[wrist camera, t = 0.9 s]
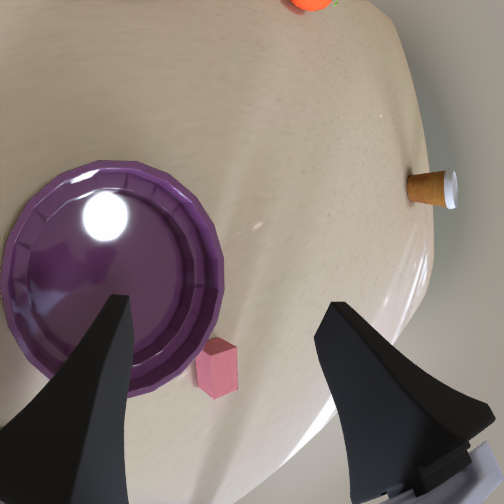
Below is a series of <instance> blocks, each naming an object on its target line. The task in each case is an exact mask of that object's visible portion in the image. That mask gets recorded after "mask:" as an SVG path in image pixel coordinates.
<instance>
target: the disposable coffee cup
mask: <svg viewBox="0 0 504 504" xmlns="http://www.w3.org/2000/svg"><path fill="white" fill-rule="evenodd" d="M407 192H408V197H409V199H410V201H413V202H419V203H425V204H431V205H437V206H443V207H447V208H449V209H452V208H456V206H457V201H458V186H457V178H456V174H455V171H453V170H450V169H448V170H445V171H439V172H432V173H425V174H418V175H411V176H409V177H408V180H407Z"/></svg>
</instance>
